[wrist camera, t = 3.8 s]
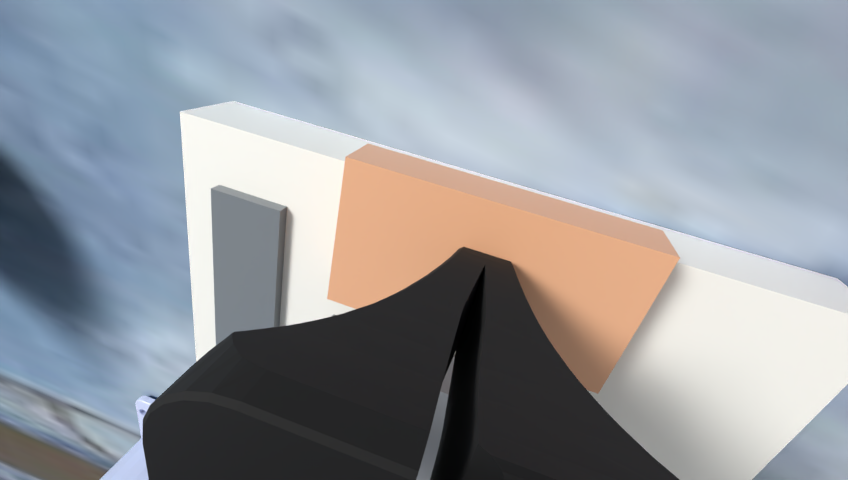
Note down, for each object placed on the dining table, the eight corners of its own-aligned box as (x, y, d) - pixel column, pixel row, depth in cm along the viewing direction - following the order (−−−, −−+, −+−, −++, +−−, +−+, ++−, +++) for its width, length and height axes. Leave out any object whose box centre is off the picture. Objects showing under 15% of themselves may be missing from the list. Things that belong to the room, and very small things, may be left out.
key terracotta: (592, 356, 13) (597, 393, 11) (347, 273, 14) (327, 299, 12) (663, 230, 10) (680, 257, 9) (367, 143, 11) (345, 156, 10)
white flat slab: (626, 529, 19) (640, 605, 16) (234, 377, 21) (193, 422, 19) (837, 278, 12) (914, 340, 10) (233, 100, 15) (169, 113, 12)
